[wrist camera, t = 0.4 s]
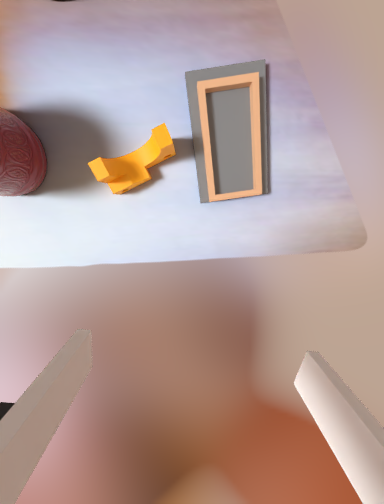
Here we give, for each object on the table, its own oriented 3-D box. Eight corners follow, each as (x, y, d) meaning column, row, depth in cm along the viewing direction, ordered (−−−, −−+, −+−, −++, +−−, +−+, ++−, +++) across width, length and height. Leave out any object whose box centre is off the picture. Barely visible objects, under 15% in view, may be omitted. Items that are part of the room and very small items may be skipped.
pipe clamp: (120, 194, 32) (104, 192, 26) (107, 170, 31) (87, 163, 25) (180, 164, 31) (178, 155, 25) (169, 139, 30) (164, 122, 24)
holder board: (185, 76, 27) (185, 65, 25) (262, 64, 27) (268, 52, 25) (200, 202, 33) (201, 202, 30) (265, 193, 32) (270, 192, 30)
